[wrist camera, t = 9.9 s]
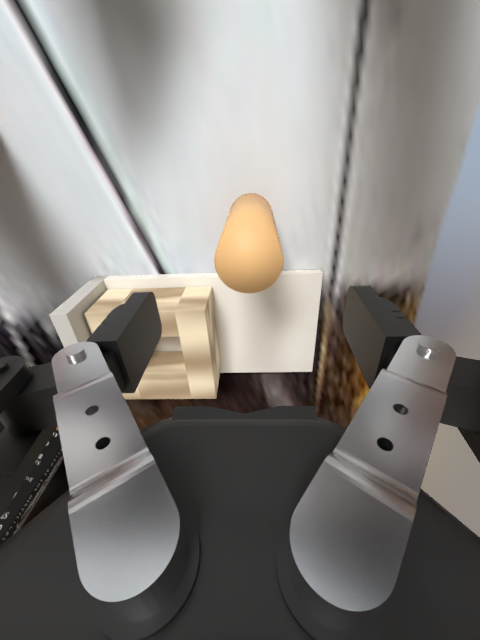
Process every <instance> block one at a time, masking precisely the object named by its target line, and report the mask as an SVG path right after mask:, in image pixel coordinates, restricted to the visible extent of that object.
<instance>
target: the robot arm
mask: <svg viewBox="0 0 480 640" xmlns="http://www.w3.org/2000/svg"><path fill="white" fill-rule="evenodd" d="M343 332H344V335H345V337H346V339H347V342H348V344H349V346H350V348H351V350H352V352H353V355H354V357H355V359H356V361H357V363H358V365H359V367H360V370H361V372H362V374H363V376H364V378H365V380H366V382H367V385H368V387H369V389H370V390H369V392H368V394H367V395H366V397H365V399H364V400H363V402H362V404H361V405H360V407H359V409H358V411H357V412H356V414H355V416H354V417H353V419H352V421H351V422H350V424H349V426H348V428H345V427H343V426H341V425H339V424H337V423H334V422H332V421H329V420H326V419H323V418H319V417H317V414H316V409H315V406H278V407H273V408H268V409H264V410H259V411H255V412H250V413H237V412H233V411H228V410H223V409H219V408H214V407H209V406H180V407H175V409H174V413H173V416H172V418H168V419H165V420H162V421H159V422H157V423H154V424H152V425H150V426H148V427H147V428H145V429H143V430H142V431H139V429H138V426H137V424H136V422H135V420H134V418H133V416H132V414H131V412H130V409H129V407H128V405H127V403H126V401H125V399H124V397H123V395H122V393H135V391H136V389H137V387H138V385H139V382H140V380H141V378H142V376H143V374H144V372H145V370H146V368H147V365H148V363H149V361H150V359H151V357H152V355H153V353H154V351H155V348H156V346H157V344H158V342H159V340H160V338H161V334H162V324H161V320H160V315H159V311H158V307H157V303H156V298H155V295H154V293H153V292H134V293H132V295H131V296H130V297H129V298H128V300H127V301H126V302H125V303H124V304H121V305H119V306H118V307H116V308H115V309H113V310H112V311H111V312H110V313H109V314H108V315H107V317H106V319H104V320H103V321H102V323H101V325H99V326H98V327H97V329H96V330H95V331H94V332H93V333H92V335H91V336H90V337H89V338H88V339H87V341H86V342H79V343H75V344H72V345H69V346H67V347H65V348H63V349H61V350H60V351H59V352H57V353H56V354H55V356H54V357H53V358H52V362H51V363H47V364H42V365H37V366H33V367H28V365H27V363H26V362H25V360H24V358H22V357H20V356H8V357H3V358H0V421H1V422H2V424H3V425H4V426H5V428H4V429H3V431H2V432H1V433H0V518H1V517H2V515H3V513H4V512H5V510H6V509H7V507H8V505H9V504H10V502H11V500H12V499H13V497H14V496H15V494H16V492H17V491H18V489H19V488H20V486H21V484H22V483H23V481H24V479H25V478H26V476H27V475H28V473H29V471H30V470H31V468H32V466H33V465H34V463H35V462H36V460H37V458H38V457H39V455H40V453H41V452H42V450H43V449H44V447H45V445H46V444H47V442H48V440H49V439H50V437H51V436H52V434H53V432H54V431H55V429H56V427H57V426H58V429H59V435H60V440H61V446H62V451H63V457H64V463H65V468H66V474H67V479H68V485H69V490H67V491H66V492H65V493H64V494H63V495H61V496H60V497H59V498H58V499H56V500H55V501H54V502H53V503H52V504H50V505H49V506H48V507H47V508H45V509H44V510H43V511H42V512H41V513H39V514H38V515H37V516H36V517H35V518H33V519H32V520H31V521H30V522H28V523H27V524H26V525H25V526H24V527H22V528H21V529H20V530H19V531H17V532H16V533H15V534H14V535H13V536H11V537H10V538H9V539H8V540H6V541H5V542H4V543H3V544H2V545H0V640H480V537H478V536H477V535H476V534H475V533H474V532H472V531H471V530H470V529H469V528H468V527H466V526H465V525H464V524H463V523H462V522H460V521H459V520H458V519H457V518H456V517H454V516H453V515H452V514H451V513H450V512H448V511H447V510H446V509H445V508H443V507H442V506H441V505H440V504H439V503H438V502H436V501H435V500H434V499H433V498H432V497H430V496H429V495H428V494H427V493H426V492H424V491H423V490H422V489H421V485H422V481H423V478H424V474H425V471H426V467H427V464H428V460H429V457H430V454H431V450H432V447H433V443H434V440H435V436H436V433H437V430H438V426H439V423H443V424H447V425H451V426H455V427H458V429H459V431H460V432H461V434H462V436H463V437H464V439H465V440H466V442H467V443H468V445H469V447H470V448H471V450H472V451H473V453H474V454H475V456H476V458H477V459H478V461H479V462H480V360H474V359H468V358H462V357H457V356H456V353H455V351H454V349H453V348H452V347H451V346H449V345H448V344H447V343H445V342H443V341H441V340H438V339H436V338H433V337H429V336H422V335H421V333H420V332H419V331H418V330H417V329H416V328H415V326H414V325H413V324H412V323H411V322H410V321H409V319H408V318H407V319H406V316H405V315H404V314H403V313H402V312H401V310H400V309H399V308H398V307H397V306H396V304H395V303H393V302H391V301H389V300H388V299H386V298H384V297H379V296H378V295H377V293H376V292H375V291H374V290H373V288H372V287H371V286H350V287H349V289H348V292H347V297H346V304H345V310H344V316H343Z"/></svg>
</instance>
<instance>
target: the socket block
mask: <svg viewBox="0 0 480 640" xmlns="http://www.w3.org/2000/svg"><path fill="white" fill-rule="evenodd" d="M134 292H153V293H154V295H155V298H156V303H157V307H158V311H159V315H160V320H161V324H162V334H161V337H180V342H181V347H182V351H154V353H153V355H152V357H151V359H150V361H149V363H148V365H147V368H146V370H145V372H144V374H143V376H142V378H141V380H140V382H139V385H138V387H137V389H136V391H135V393H122V395H123V397H124V399H216V398H217V391H218V384H219V377H220V370H221V365H220V356H219V347H218V339H217V330H216V321H215V312H214V303H213V294H212V286H211V287H176V288H142V289H108V290H107V291H106V292H105V293H104V294H103V295H102V296H101V297H100V298H99V299H98V300H97V301H96V302H95V303H94V304H93V305H92V306H91V307H90V308H89V309H88V310H87V311H86V312H85V313H84V314H85V317H86V320H87V322H88V325H89V327H90V330H91V332H92V333H93V332H94V331H95V330H96V329H97V327H98V326H99V325H101V323H102V321H103V320H104V319H106V317H107V315H108V314H109V313H110V312H111V311H112V310H113V309H115V308H116V307H118V306H119V305H121V304H124V303H125V302H126V301H127V300H128V298H129V297H130V296H131V295H132V293H134Z"/></svg>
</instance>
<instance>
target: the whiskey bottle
mask: <svg viewBox="0 0 480 640" xmlns="http://www.w3.org/2000/svg"><path fill="white" fill-rule="evenodd" d="M4 428H5V426H4V425H3V424H2V422H1V421H0V433H1V432H2V431H3V429H4ZM63 464H64V457H63V451H62V446H61V440H60V435H59V429H58V426H57V427H56V429H55V431H54V432H53V434H52V436H51V437H50V439H49V440H48V442H47V444H46V445H45V447H44V449H43V450H42V452H41V453H40V455H39V457H38V458H37V460H36V462H35V463H34V465H33V466H32V468H31V470H30V471H29V473H28V475H27V476H26V478H25V479H24V481H23V483H22V484H21V486H20V488H19V489H18V491H17V492H16V494H15V496H14V497H13V499H12V500H11V502H10V504H9V505H8V507H7V509H6V510H5V512H4V513H3V515H2V517H1V518H0V545H2V544H3V543H4V542H5V541H6V540H8V539H9V538H10V537H11V536H13V535H14V534H15V533H16V532H17V531H19V530H20V529H21V527H22V525H23V524H24V522H25V521H26V519H27V517H28V516H29V514H30V513H31V511H32V509H33V508H34V506H35V505H36V503H37V501H38V500H39V498H40V496H41V495H42V493H43V492H44V490H45V488H46V487H47V485H48V484H49V482H50V480H51V479H52V477H53V476H54V474H55V472H56V471H57V469H58V468H59V466H61V465H63Z"/></svg>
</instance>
